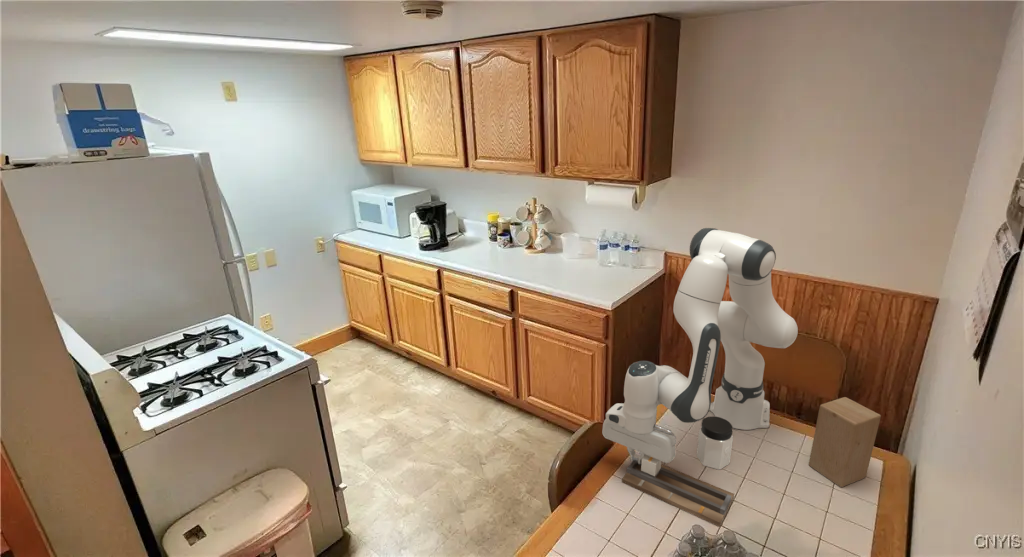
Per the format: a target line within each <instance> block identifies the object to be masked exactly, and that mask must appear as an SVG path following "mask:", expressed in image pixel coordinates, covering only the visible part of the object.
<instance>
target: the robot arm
mask: <svg viewBox="0 0 1024 557" xmlns="http://www.w3.org/2000/svg"><path fill="white" fill-rule="evenodd" d="M689 255H690V257H689V258H690V259H691V260H690V263H689V264H688V265H687V268H686V270H685V271H684V274H683V276H682V278H681V280H680V283H679V286H678V288H677V292H676V294H675V297H674V301H673V309H672V310H673V315H674V318H675V320H676V322H677V323H678V324H679V325H680V326H681V328H682V329H683V330H684V332H685V333H686V335H687V336H688V339H689V341H690V342H691V345H692V353H693V354H692V359H691V364H690V367H689V368H690V369H689V373H688V377H687V376H685V375H684V374H682V372H680V371H678V370H677V369H675V368H673V367H672V366H670V365H667V364H666V365H665V364H662V365H657V364H655V363H654V362H652V361H649V360H639V361H635V362H633V363H632V364H630V365H629V366H628V368H627V370H626V374H625V378H624V385H623V397H624V403H622V402H621V403H618V402H617V403H615V404H614V405H612V406H611V407H610V408H609V409H608V410H607V412H605V419H604V421H603V424H602V432H601V433H602V435H603V437H604V438H605V439H607V440H610V441H611V442H614V443H616V444H619V445H621V446H623V447H626V451H627V452H628V454H629V455H630V461H633V462H636V463H638V464H641V463H642V458H643V457H644V456H645V454H646V455H648V456H650V457H653V458H655V459H658V460H660V461H661V462H662V463H664V464H665V463H666V464H669V463H671V462H673V460H674V459H675V458H676V457H675V456H676V444H677V436H676V435H675V433H674V432H672V430H671V429H669V428H665V427H662V426H661V425H658V424H657V414H658V408H657V407H658V406H659V405H663V406H664V407H665V408H666V409H667V410H669V411H670V412H671V413H672V414H673V416H675V417H676V418H677V419H678V420H679V421H680V422H682V423H688V424H689V423H690V424H691V423H697V422H699V421H702V420H703V419H704V418H706V417H707V415H708V414H709V412H711V413H713V415H714V417H720V418H723V419H725V420H727V421H728V422H730V423H731V425H732V427H733V429H737V430H743V431H744V430H745V431H746V430H755V429H767V428H770V412H771V411H770V408H771V406H770V402H769V401H768V400H766V399H765V391H764V381H763V379H764V371H765V365H766V363H765V360H764V357H763V355H762V354H761V353H760V352H759V351H758V350H757V349H755V347H753V346H752V344H751V343H753V344H757V345H759V346H763V347H767V348H775V349H786V348H789V347H790V346H791V345H793V343H794V342H795V341H796V339H797V337H798V332H799V331H798V330H799V328H798V325H797V322H796V320H795V318H793V317H792V316H790V315H789V314H788V313H787V312H786V311H785V310H784V309H783V308H782V307H781V306H780V305H779V303H778V302H777V301H776V299H775V297H774V294H773V288H772V271H773V268H774V266H775V263H776V259H777V254H776V251H775V249H774V247H773V245H771V244H769V243H768V242H766V241H764V240H762V239H759V238H754V237H752V236H751V237H750V236H748V235H745V234H743V233H739V232H733V231H727V230H720V229H718V228H716V227H715V228H713V227H705V228H701V229H700V230H699V231H697V232H696V233H695V234H694V235H693V237H692V238H691V241H690V243H689ZM727 280H728V288H729V296H730V298H731V300H732V301H730V300H728V301H727V300H723V298H724V295H725V290H726V286H727ZM721 344H722V346H723V350H724V353H725V354H724V355H725V362H724V363H725V365H724V373H723V374H722V378H721V385H720V386H719V387H718V388H717V387H716V390H715V392H714V393H715V394H714V401H712V386H713V382H714V381H713V380H714V376H715V372H716V367H717V361H718V356H719V352H720V348H721V347H720V345H721ZM636 452H639V454H638V453H636Z"/></svg>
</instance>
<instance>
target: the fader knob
mask: <svg viewBox="0 0 1024 557" xmlns="http://www.w3.org/2000/svg"><path fill="white" fill-rule="evenodd" d="M661 464H662V461H660V460H658V459H655V458H653V457H650V456H648V455H646V454H645V456H644V457H643V458H642V463H641V471H642V472H643V473H646V474H648V475H650V476H653V477H655V478H656V476H657V475H658V474H659V470H660V469H661Z"/></svg>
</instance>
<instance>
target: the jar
mask: <svg viewBox="0 0 1024 557" xmlns="http://www.w3.org/2000/svg"><path fill="white" fill-rule="evenodd" d="M700 426H701V427H700V428H699V429H698V430H699V431H698V438H697V447H696V448H697V449H696V457H697V458H698V460H699V461H700V462H701V464H702V466H703V467H708V468H712V469H715V470H722V469H723V468H725V467H726V466H728V465H730V463H731V455H732V449H733V442H734V441H733V440H734V435H733V429H734V428H733V427H732V425H731V423H730V422H728V421H727V420H725V419H723V418H720V417H715V415H714V416H712V415H711V416H705V417H704V418H703V419H701V425H700Z"/></svg>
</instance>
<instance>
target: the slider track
mask: <svg viewBox="0 0 1024 557" xmlns="http://www.w3.org/2000/svg"><path fill="white" fill-rule="evenodd" d="M621 483H622V484H625V485H627V486H629V487H631V488H634V489H636V490H638V491H639V492H642V493H645V494H647V495H648V496H651V497H654V498H656V499H658V500H660V501H663V502H665V503H667V504H669V505H671V506H673V507H675V508H678V509H679V510H682V511H684V512H686V513H689V514H691V515H692V516H695V517H696V518H697V517H698V518H700V519H701V520H704V521H706V522H708V523H710V524H713V525H715V526H718V527H720V528H721V525H722V523H723V521H724V519H725V517H726V515H727V512H728V510H729V508H730V507H731V504H732V502H733V500H734V498H735V497H734V496H735V493H734V492H731V491H728V490H726V489H723V488H721V487H718V486H717V485H713V484H711V483H709V482H706V481H705V480H701V479H699V478H697V477H694V476H692V475H689V474H687V473H684V472H682V471H679V470H677V469H675V468H673V467H669V466H667V465H665V464H662V463H661V469H660V470H659V474H658V475H657V476H656V478H655V477H653V476H650V475H648V474H646V473H643V472H642V471H641V464H638V463H636V462H633V461H632V462H630V464H629V465H628V466H627V467H626V473H625V474H624V476H623V477H622V478H621Z"/></svg>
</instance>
